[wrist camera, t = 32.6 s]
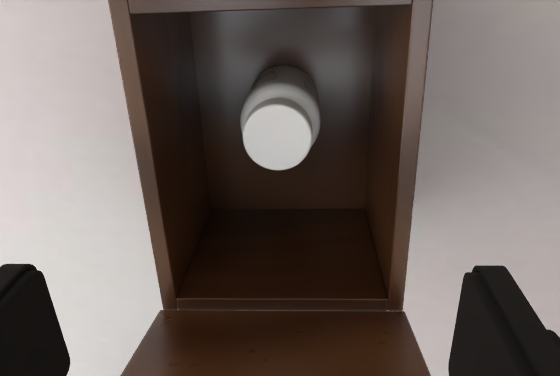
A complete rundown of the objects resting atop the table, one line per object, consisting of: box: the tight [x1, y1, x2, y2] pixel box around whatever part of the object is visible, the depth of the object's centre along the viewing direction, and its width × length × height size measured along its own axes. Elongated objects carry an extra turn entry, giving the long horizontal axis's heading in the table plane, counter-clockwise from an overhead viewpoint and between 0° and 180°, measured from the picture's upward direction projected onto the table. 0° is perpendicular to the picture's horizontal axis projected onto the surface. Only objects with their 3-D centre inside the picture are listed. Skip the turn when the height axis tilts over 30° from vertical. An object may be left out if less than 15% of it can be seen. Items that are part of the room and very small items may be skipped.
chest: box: [108, 0, 433, 311], centre depth 26 cm, size 16×13×11 cm
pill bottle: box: [240, 65, 320, 170], centre depth 26 cm, size 4×4×8 cm
